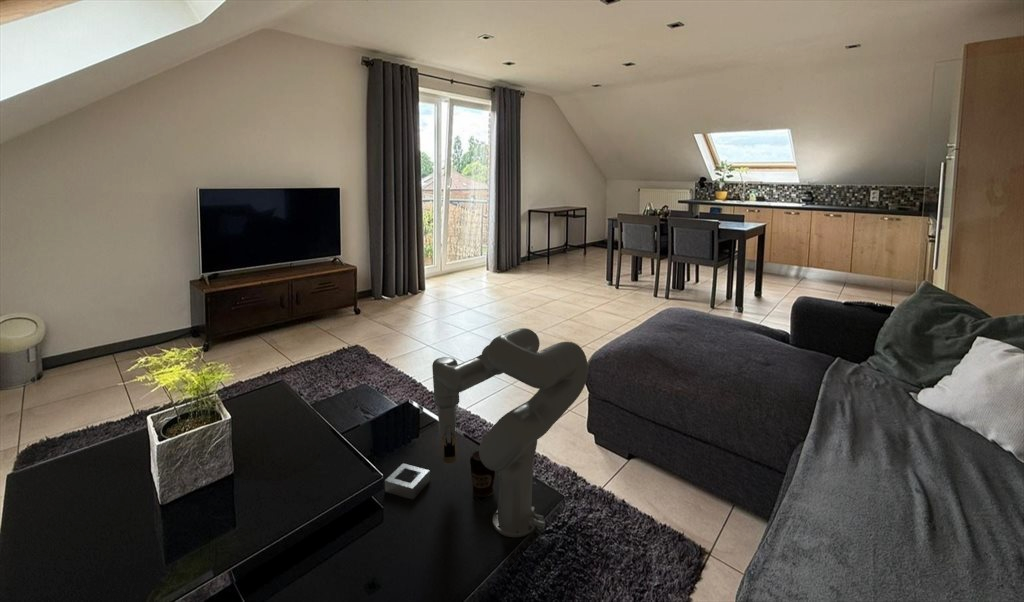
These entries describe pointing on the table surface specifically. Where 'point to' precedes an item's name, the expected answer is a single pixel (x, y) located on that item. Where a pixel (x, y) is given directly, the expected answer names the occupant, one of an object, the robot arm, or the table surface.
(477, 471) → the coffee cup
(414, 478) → the white square frame block
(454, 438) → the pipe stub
